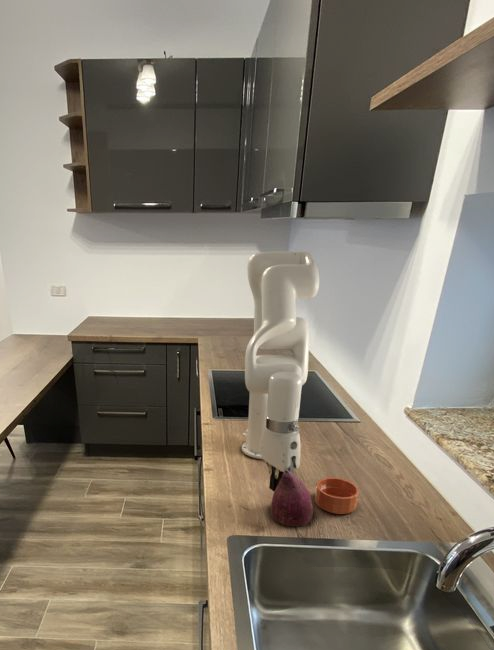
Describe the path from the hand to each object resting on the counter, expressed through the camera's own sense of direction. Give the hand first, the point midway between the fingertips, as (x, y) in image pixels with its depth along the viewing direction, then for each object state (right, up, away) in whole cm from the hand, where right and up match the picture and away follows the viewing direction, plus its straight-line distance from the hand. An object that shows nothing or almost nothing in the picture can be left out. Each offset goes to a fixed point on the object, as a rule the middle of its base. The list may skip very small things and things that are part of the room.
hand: (275, 488), depth 114 cm
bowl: (+16, -4, +1) cm, 16 cm away
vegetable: (+3, -6, -3) cm, 8 cm away
